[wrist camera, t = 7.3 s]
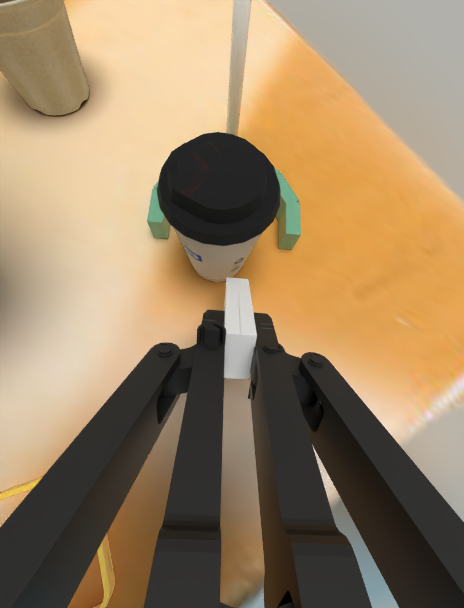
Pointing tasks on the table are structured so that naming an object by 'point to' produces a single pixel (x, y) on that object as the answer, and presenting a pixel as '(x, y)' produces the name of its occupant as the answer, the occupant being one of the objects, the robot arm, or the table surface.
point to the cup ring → (285, 215)
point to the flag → (237, 62)
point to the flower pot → (41, 55)
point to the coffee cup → (218, 201)
